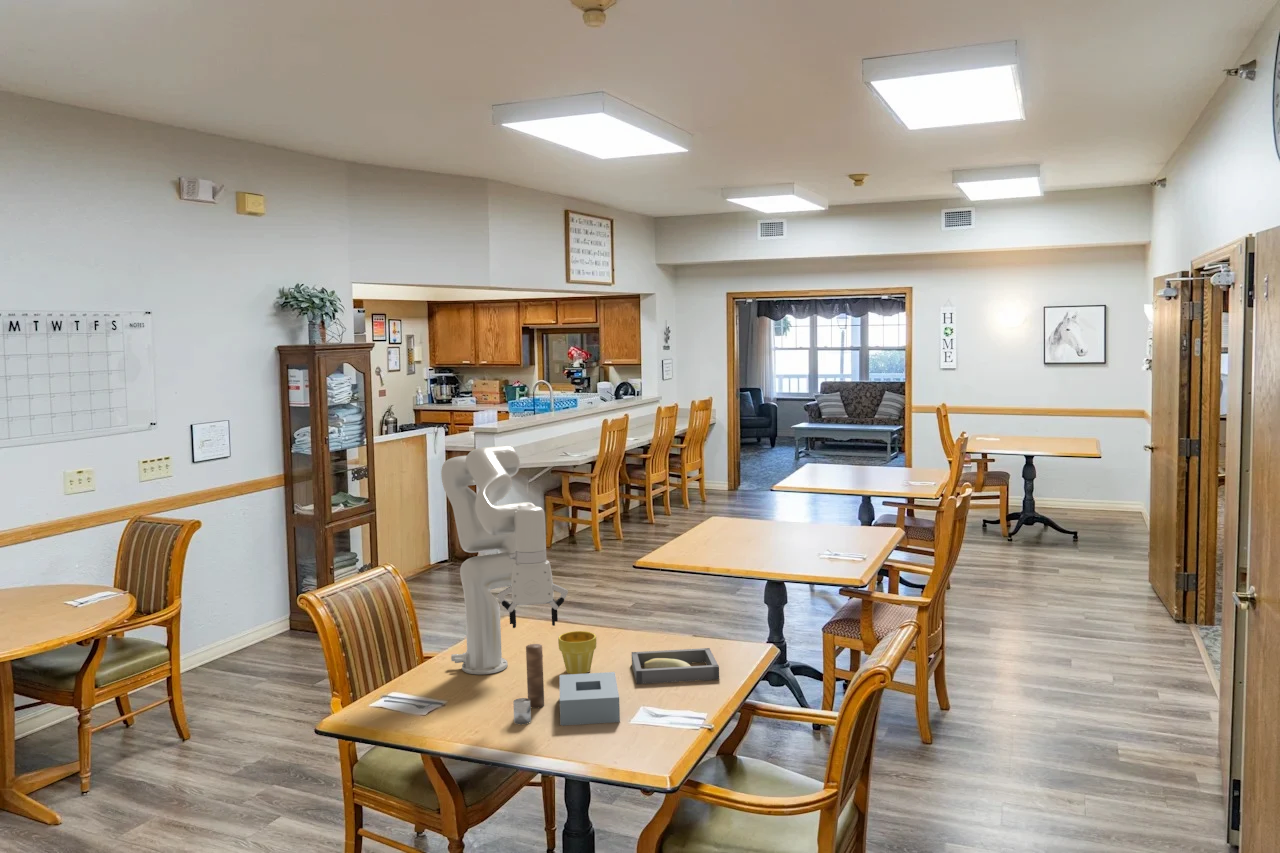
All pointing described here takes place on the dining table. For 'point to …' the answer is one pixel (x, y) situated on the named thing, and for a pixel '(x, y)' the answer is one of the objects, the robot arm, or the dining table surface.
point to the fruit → (664, 663)
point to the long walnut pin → (535, 675)
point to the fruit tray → (675, 673)
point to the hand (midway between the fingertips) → (534, 625)
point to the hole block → (589, 698)
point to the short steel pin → (522, 711)
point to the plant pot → (577, 651)
